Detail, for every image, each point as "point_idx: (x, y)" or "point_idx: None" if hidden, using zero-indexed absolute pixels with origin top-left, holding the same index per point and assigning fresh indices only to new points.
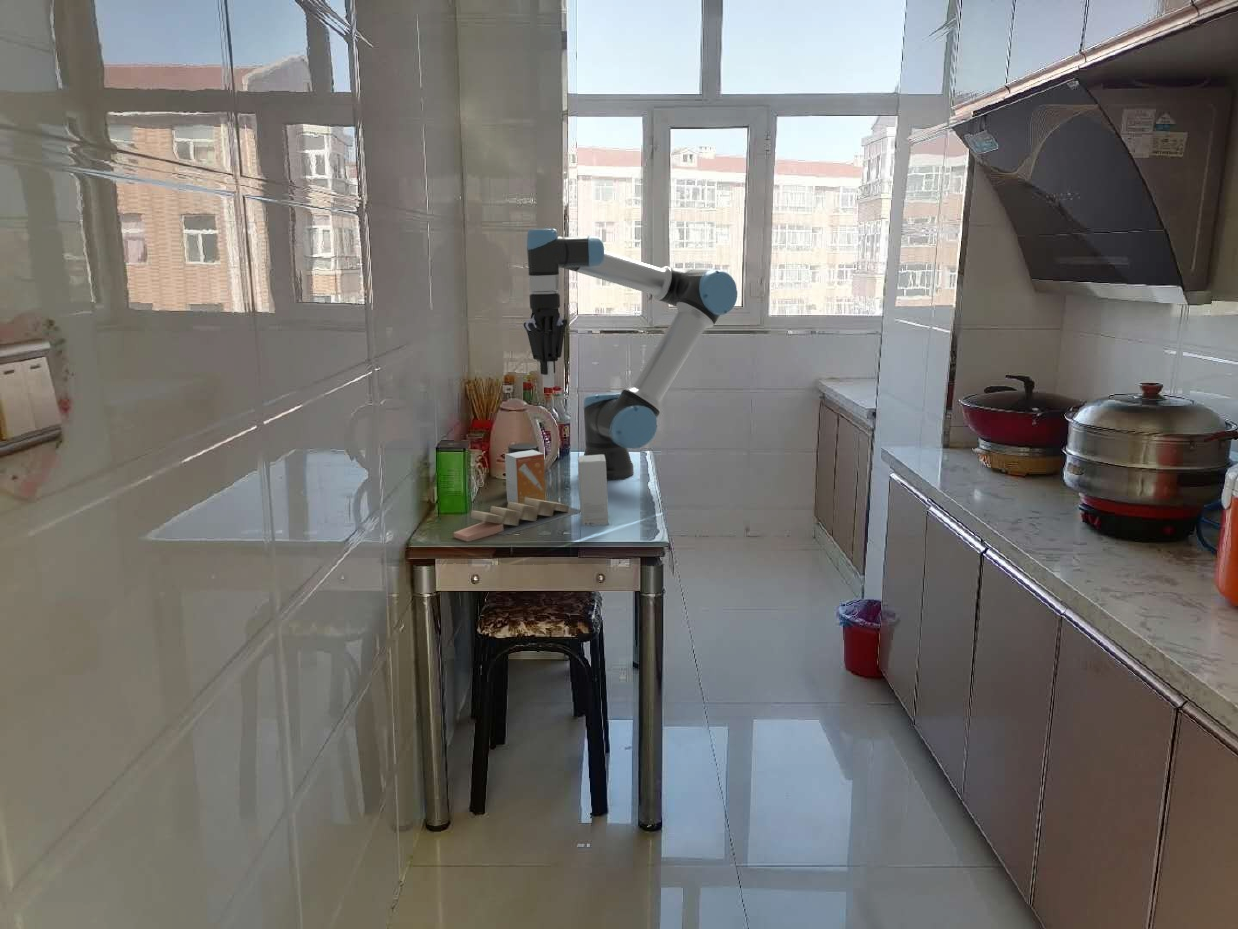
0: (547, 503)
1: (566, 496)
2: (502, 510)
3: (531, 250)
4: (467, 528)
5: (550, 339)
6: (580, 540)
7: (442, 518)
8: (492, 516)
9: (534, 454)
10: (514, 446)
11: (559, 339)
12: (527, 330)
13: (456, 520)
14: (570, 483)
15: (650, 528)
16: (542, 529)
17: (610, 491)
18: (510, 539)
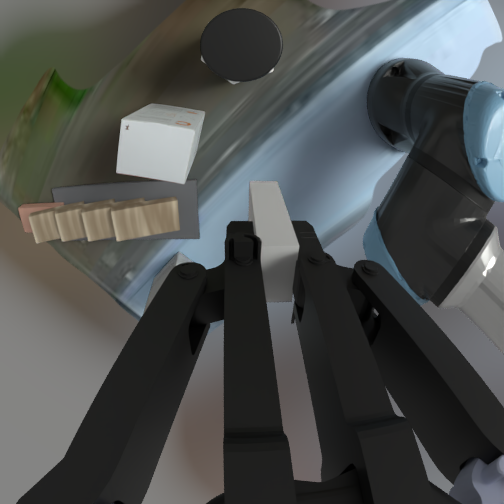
0: (134, 237)
1: (252, 145)
2: (61, 237)
3: None
4: (31, 210)
5: (317, 414)
6: (127, 301)
7: (42, 107)
8: (47, 240)
9: (163, 175)
10: (221, 32)
11: (396, 399)
12: (62, 475)
13: (51, 130)
14: (326, 87)
15: (210, 324)
16: (114, 247)
17: (321, 182)
18: (69, 248)
